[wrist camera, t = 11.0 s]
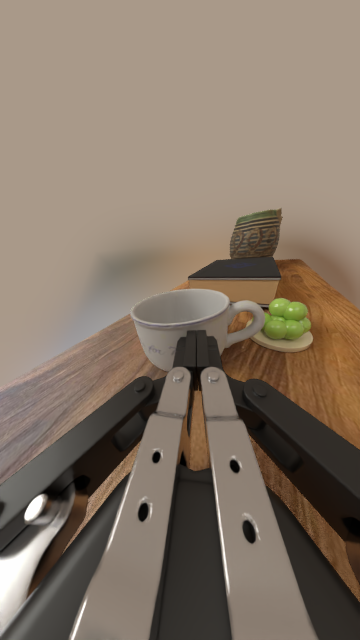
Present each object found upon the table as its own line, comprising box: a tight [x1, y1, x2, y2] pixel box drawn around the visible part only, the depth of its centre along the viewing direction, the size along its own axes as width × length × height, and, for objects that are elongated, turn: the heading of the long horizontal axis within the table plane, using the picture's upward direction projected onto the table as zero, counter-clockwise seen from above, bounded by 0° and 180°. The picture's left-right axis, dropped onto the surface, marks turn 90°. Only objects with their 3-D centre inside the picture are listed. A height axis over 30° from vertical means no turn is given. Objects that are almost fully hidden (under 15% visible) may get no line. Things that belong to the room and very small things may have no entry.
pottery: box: [230, 208, 282, 259], centre depth 55 cm, size 18×18×20 cm
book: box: [188, 257, 281, 308], centre depth 37 cm, size 17×25×7 cm
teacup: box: [130, 289, 265, 372], centre depth 16 cm, size 14×11×8 cm
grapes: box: [246, 298, 313, 352], centre depth 18 cm, size 8×8×5 cm
